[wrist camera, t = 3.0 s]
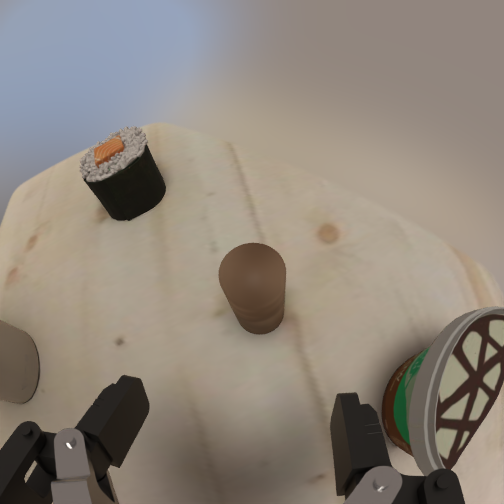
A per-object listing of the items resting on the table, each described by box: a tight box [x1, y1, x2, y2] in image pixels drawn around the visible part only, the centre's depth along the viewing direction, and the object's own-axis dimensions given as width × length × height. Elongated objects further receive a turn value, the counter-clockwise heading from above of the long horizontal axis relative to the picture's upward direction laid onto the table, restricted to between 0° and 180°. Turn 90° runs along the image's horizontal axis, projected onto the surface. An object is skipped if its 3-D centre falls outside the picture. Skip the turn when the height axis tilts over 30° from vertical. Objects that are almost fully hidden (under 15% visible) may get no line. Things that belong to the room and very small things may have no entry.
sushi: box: [80, 127, 166, 220], centre depth 29 cm, size 8×8×8 cm
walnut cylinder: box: [219, 243, 286, 334], centre depth 20 cm, size 4×4×8 cm
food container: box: [382, 307, 504, 476], centre depth 14 cm, size 12×6×10 cm, turn 135°
